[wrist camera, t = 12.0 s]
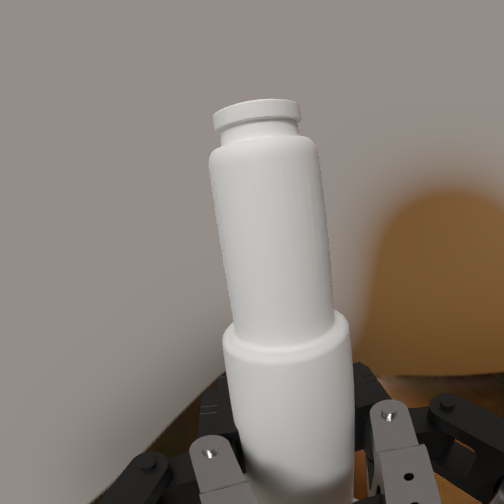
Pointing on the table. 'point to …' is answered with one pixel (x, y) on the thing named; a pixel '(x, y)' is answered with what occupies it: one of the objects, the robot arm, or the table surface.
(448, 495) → the table surface
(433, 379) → the table surface
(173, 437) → the table surface
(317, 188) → the cosmetic bottle
